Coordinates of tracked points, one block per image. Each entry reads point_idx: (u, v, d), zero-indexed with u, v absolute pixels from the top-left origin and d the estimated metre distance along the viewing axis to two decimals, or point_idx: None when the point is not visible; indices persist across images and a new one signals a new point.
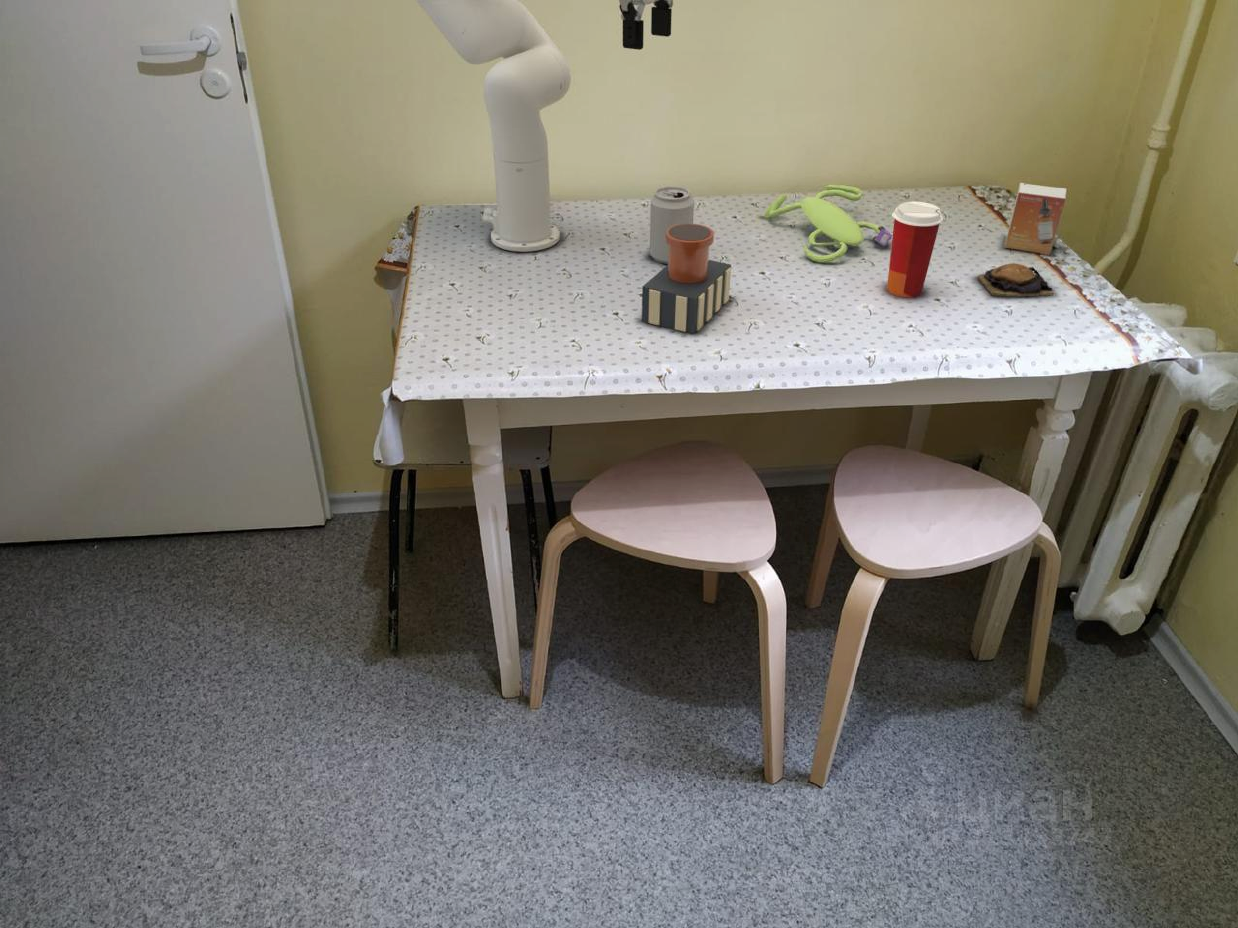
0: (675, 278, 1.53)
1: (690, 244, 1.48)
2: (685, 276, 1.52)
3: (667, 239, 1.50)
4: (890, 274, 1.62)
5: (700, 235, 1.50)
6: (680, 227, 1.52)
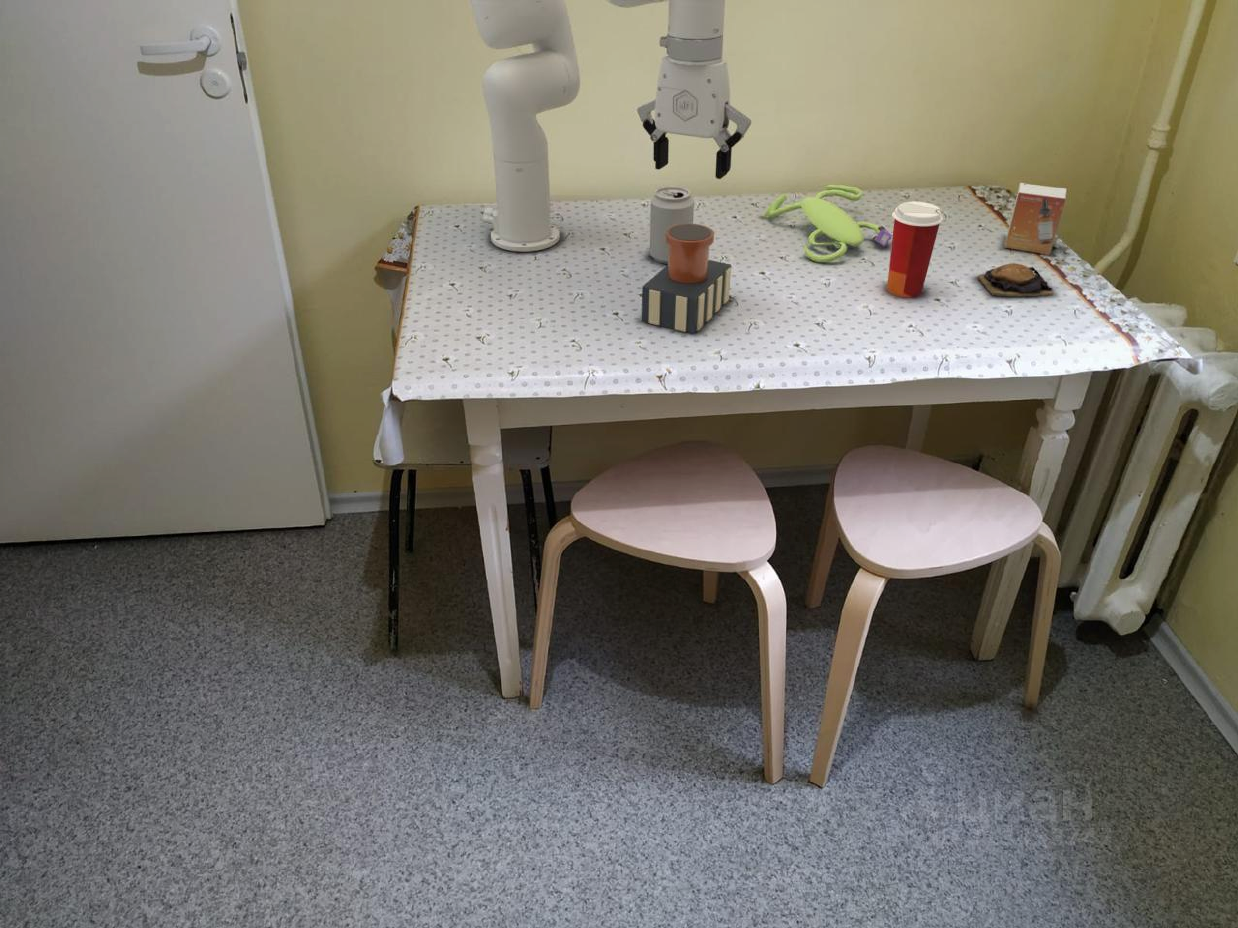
0: (675, 278, 1.53)
1: (690, 244, 1.48)
2: (685, 276, 1.52)
3: (667, 239, 1.50)
4: (890, 274, 1.62)
5: (700, 235, 1.50)
6: (680, 227, 1.52)
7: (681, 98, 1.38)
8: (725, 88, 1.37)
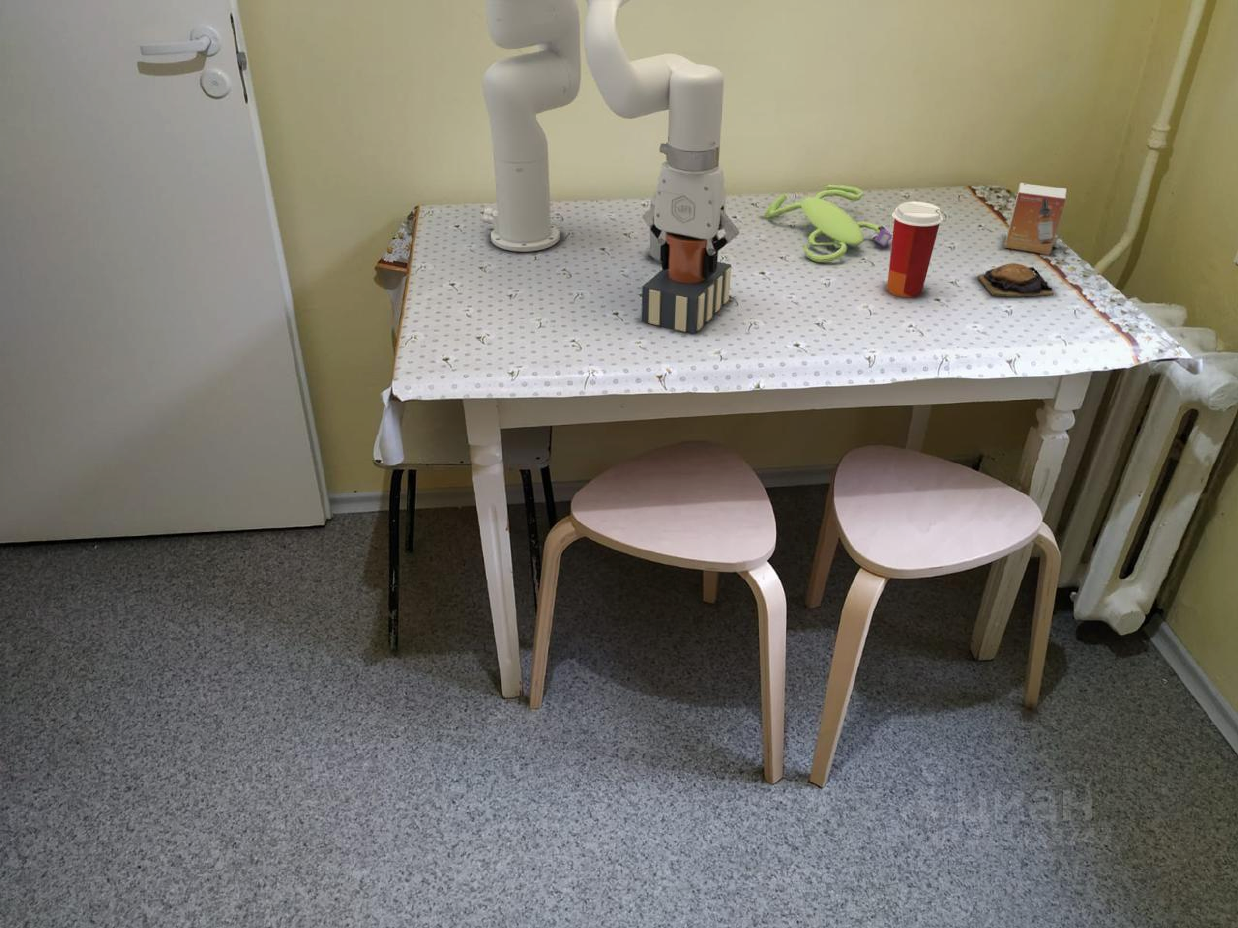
0: (675, 278, 1.53)
1: (690, 244, 1.48)
2: (685, 276, 1.52)
3: (667, 239, 1.50)
4: (890, 274, 1.62)
5: None
6: None
7: (679, 202, 1.46)
8: (721, 194, 1.45)
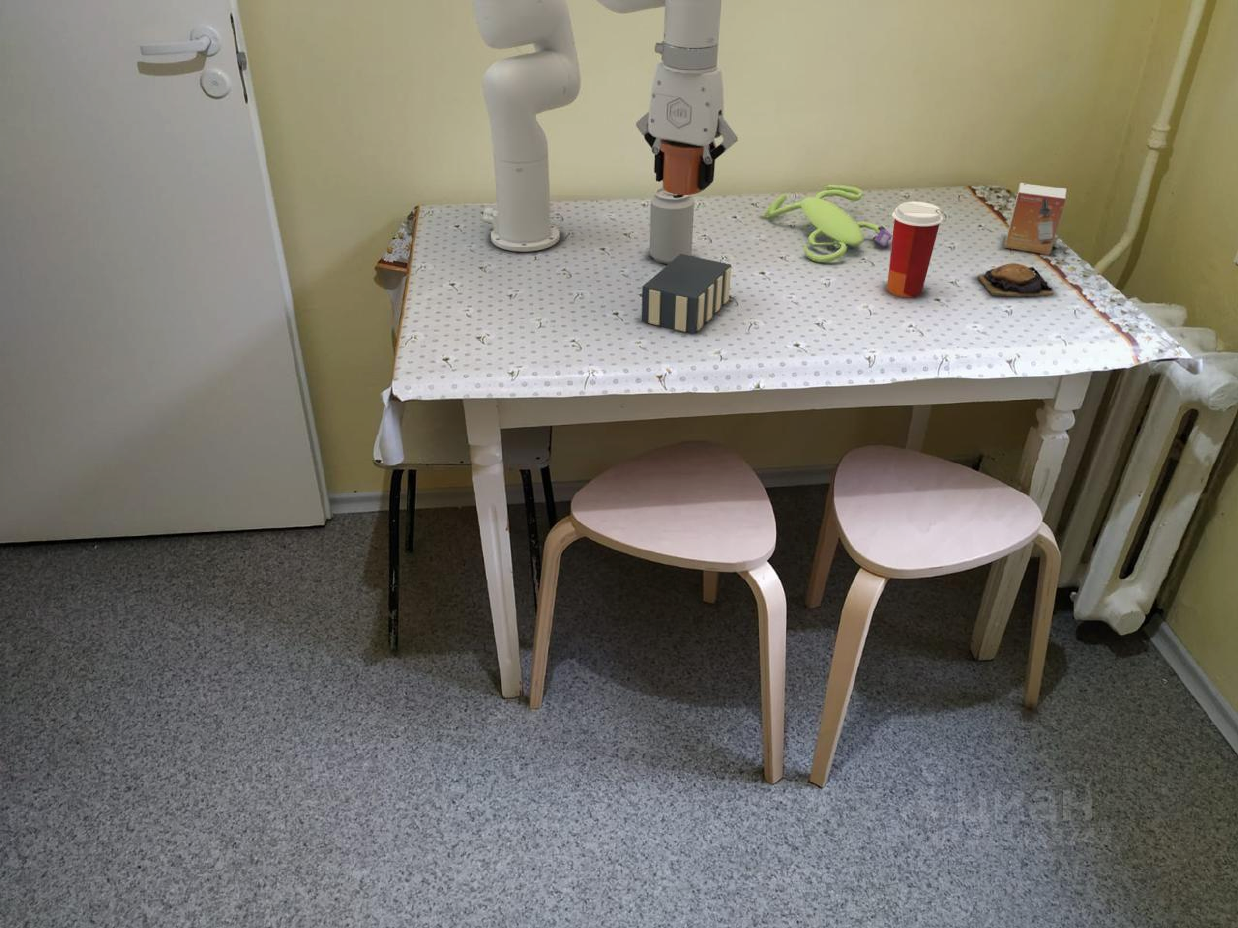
0: (670, 189, 1.46)
1: (686, 151, 1.41)
2: (680, 186, 1.45)
3: (662, 147, 1.43)
4: (890, 274, 1.62)
5: None
6: None
7: (675, 105, 1.39)
8: (719, 97, 1.37)
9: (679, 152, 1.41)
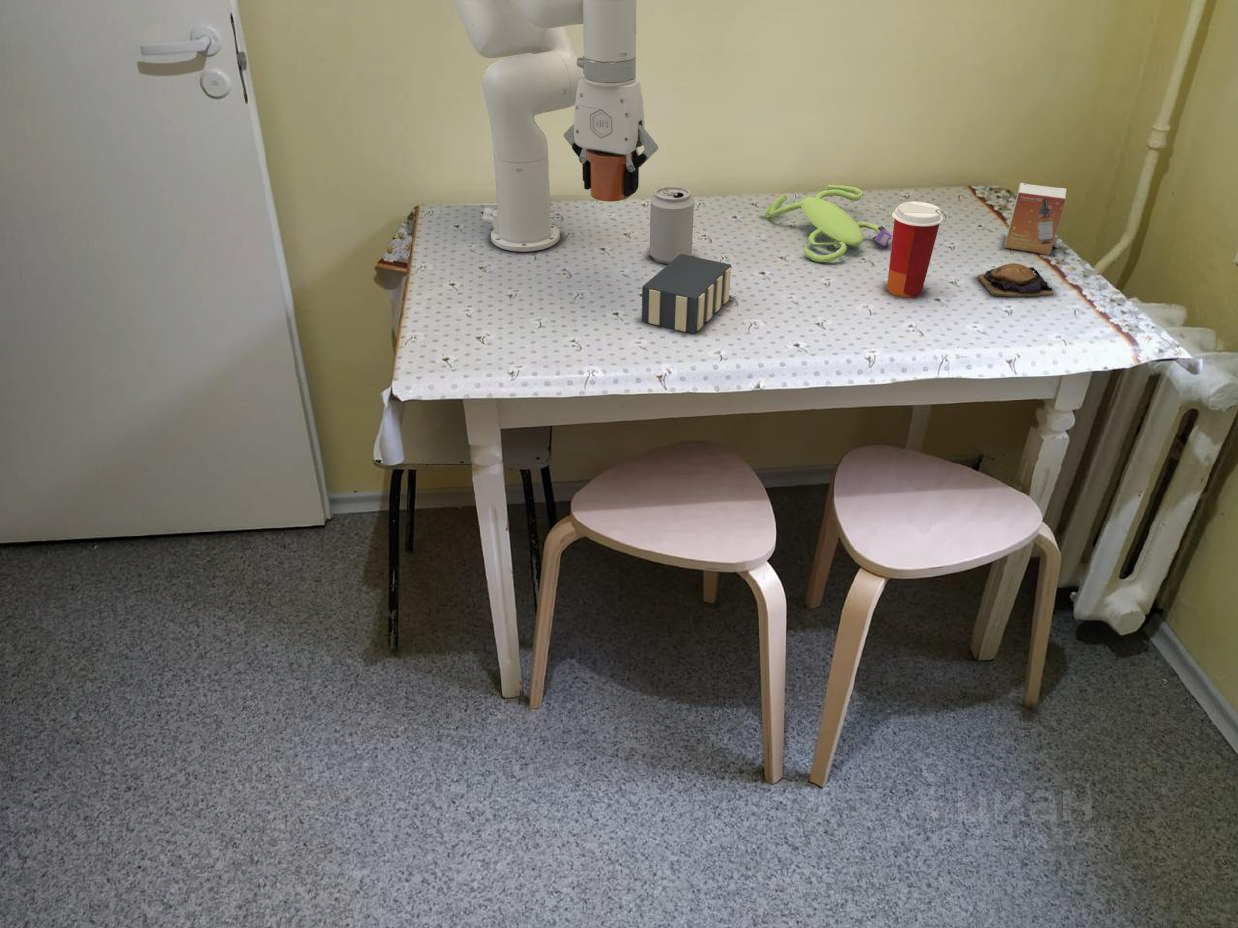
0: (596, 196, 1.52)
1: (609, 160, 1.48)
2: (606, 193, 1.51)
3: (587, 156, 1.50)
4: (890, 274, 1.62)
5: None
6: None
7: (597, 116, 1.46)
8: (638, 108, 1.44)
9: (603, 161, 1.48)
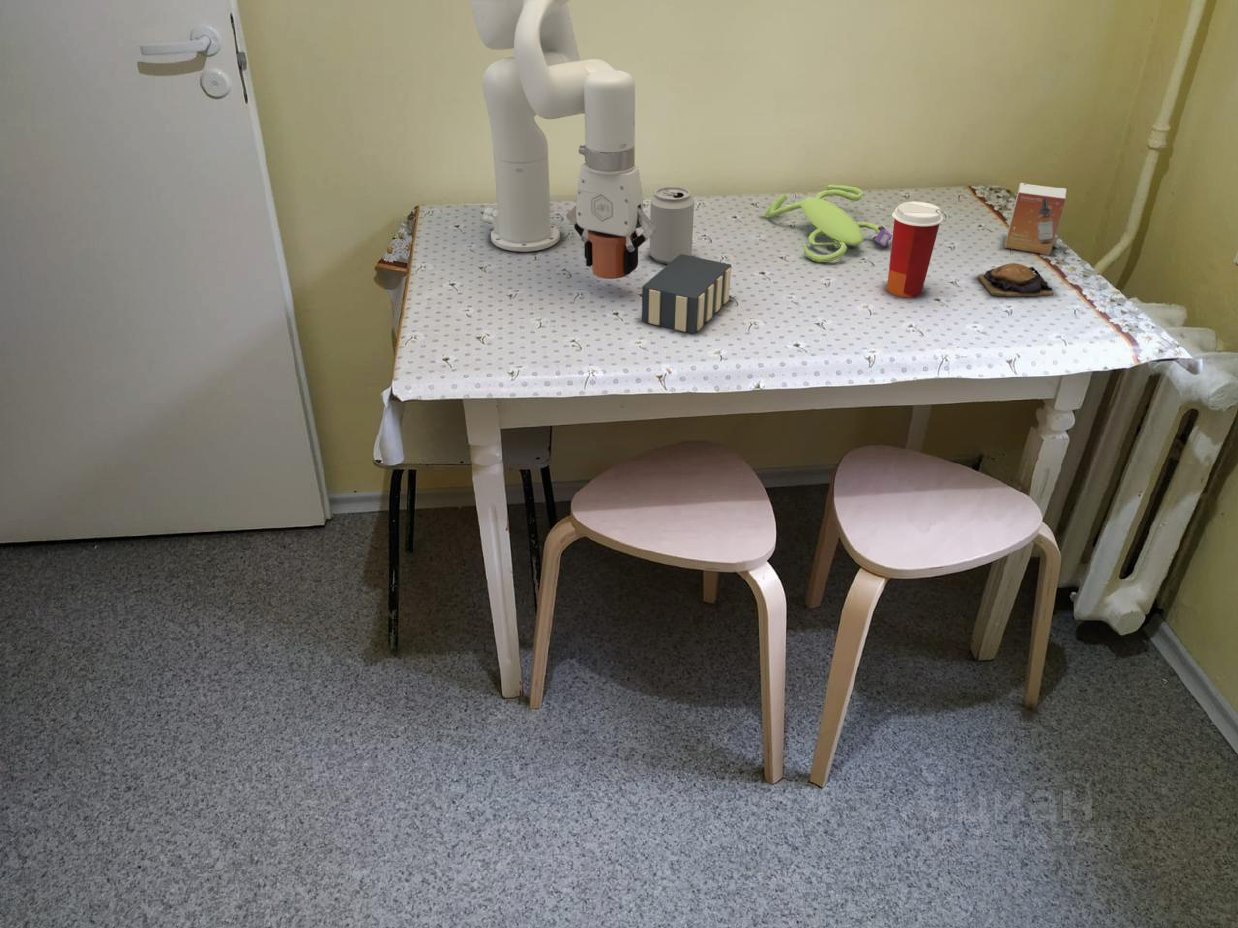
0: (598, 274, 1.60)
1: (610, 241, 1.55)
2: (607, 271, 1.59)
3: (589, 236, 1.57)
4: (890, 274, 1.62)
5: None
6: None
7: (598, 201, 1.53)
8: (637, 193, 1.52)
9: (604, 242, 1.55)
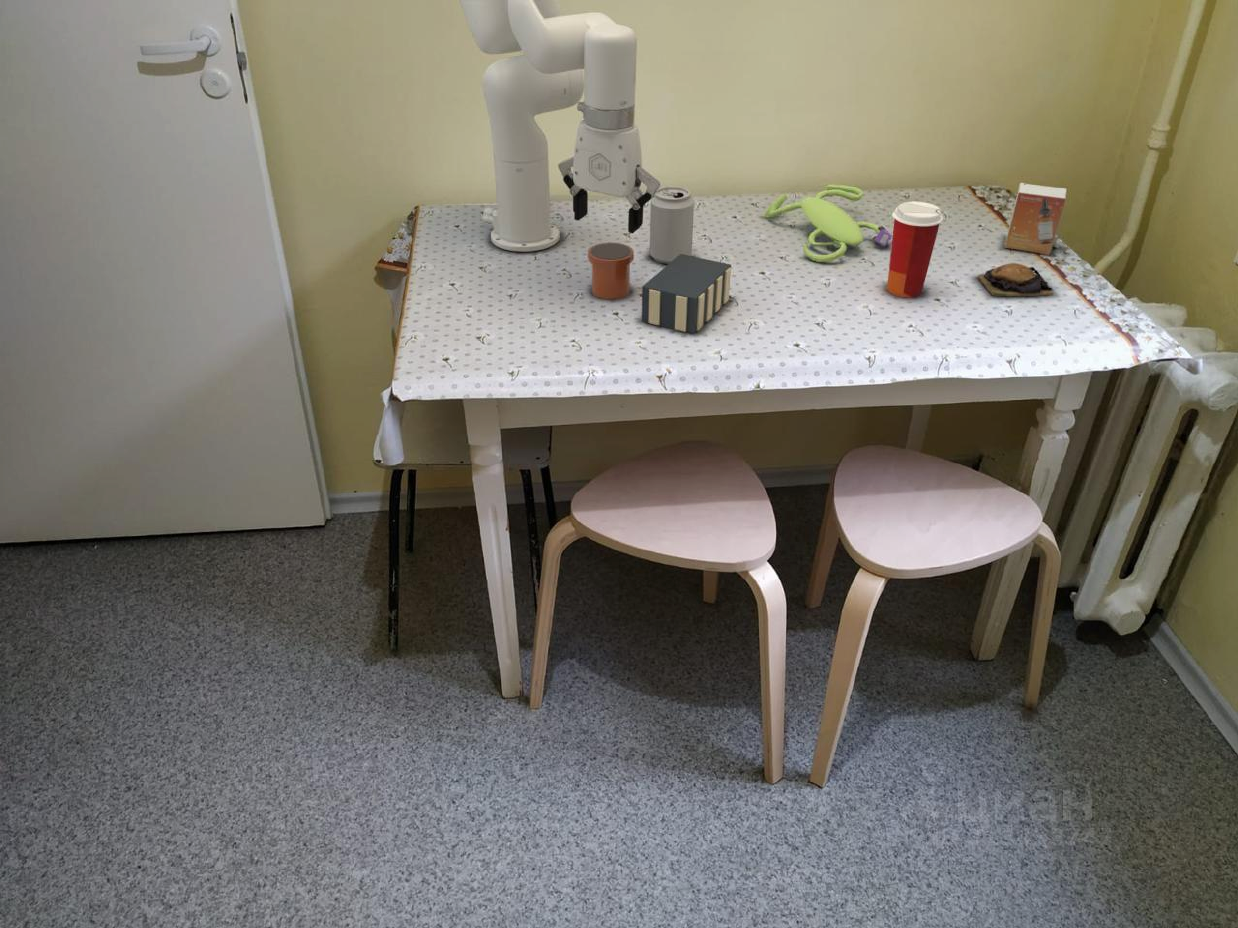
0: (598, 294, 1.62)
1: (609, 263, 1.57)
2: (607, 292, 1.61)
3: (589, 258, 1.59)
4: (890, 274, 1.62)
5: (620, 254, 1.59)
6: (603, 246, 1.61)
7: (596, 160, 1.50)
8: (636, 153, 1.48)
9: (603, 263, 1.57)
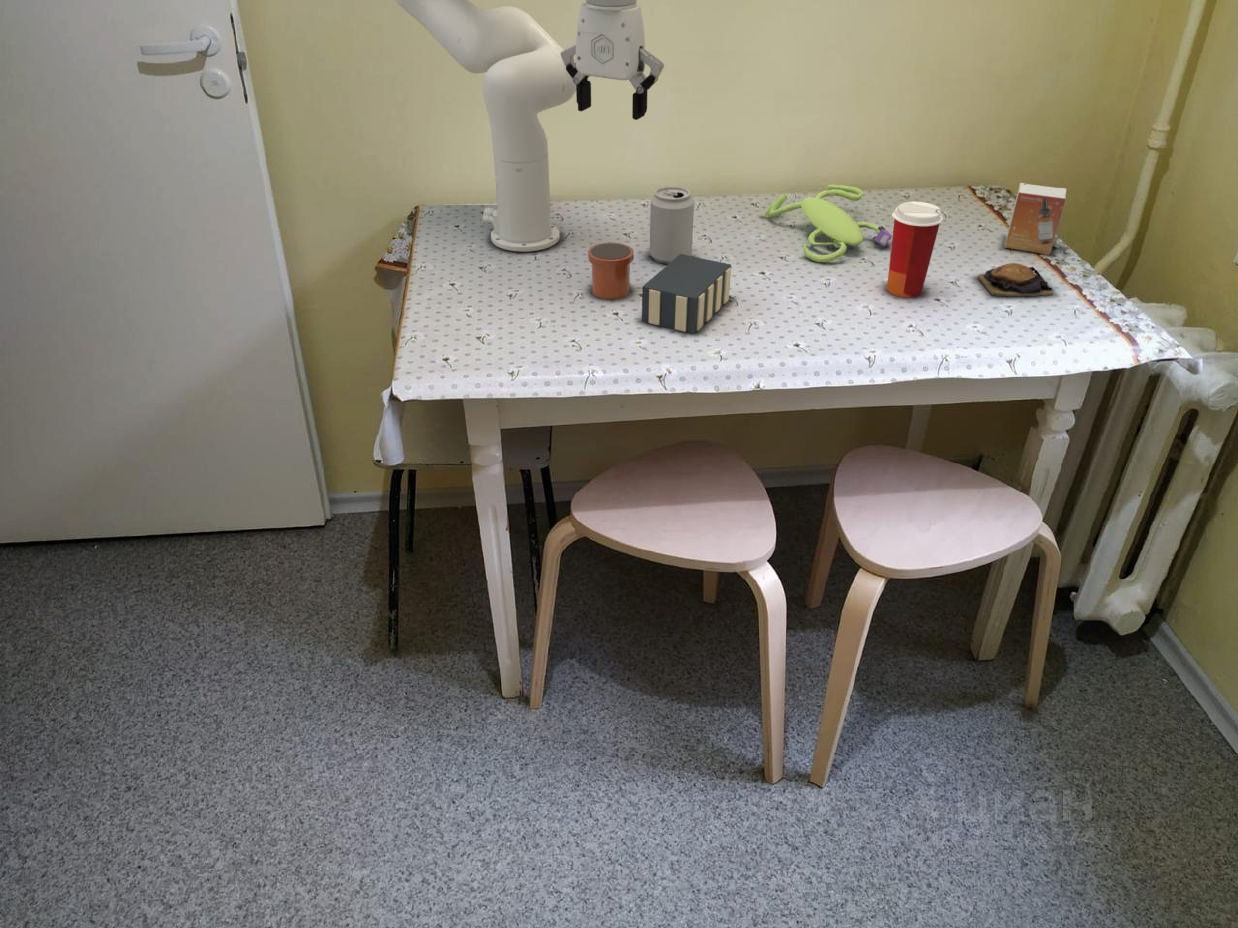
0: (598, 294, 1.62)
1: (609, 263, 1.57)
2: (607, 292, 1.61)
3: (589, 258, 1.59)
4: (890, 274, 1.62)
5: (620, 254, 1.59)
6: (603, 246, 1.61)
7: (598, 42, 1.48)
8: (639, 33, 1.47)
9: (603, 263, 1.57)
